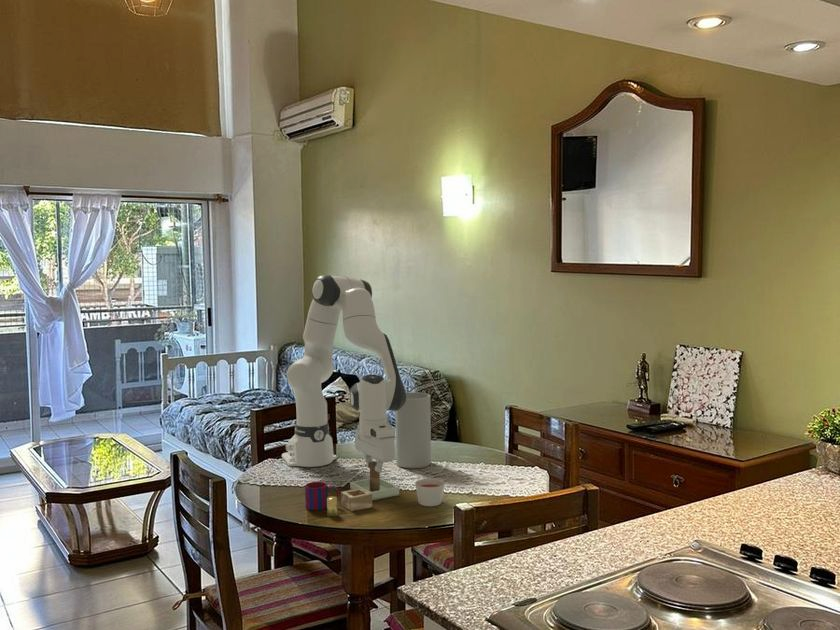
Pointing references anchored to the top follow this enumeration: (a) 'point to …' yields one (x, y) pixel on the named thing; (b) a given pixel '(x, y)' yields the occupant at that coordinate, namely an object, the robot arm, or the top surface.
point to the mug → (317, 495)
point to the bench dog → (332, 506)
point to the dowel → (374, 477)
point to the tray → (384, 492)
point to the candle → (430, 491)
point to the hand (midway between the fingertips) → (374, 469)
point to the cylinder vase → (414, 432)
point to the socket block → (356, 499)
